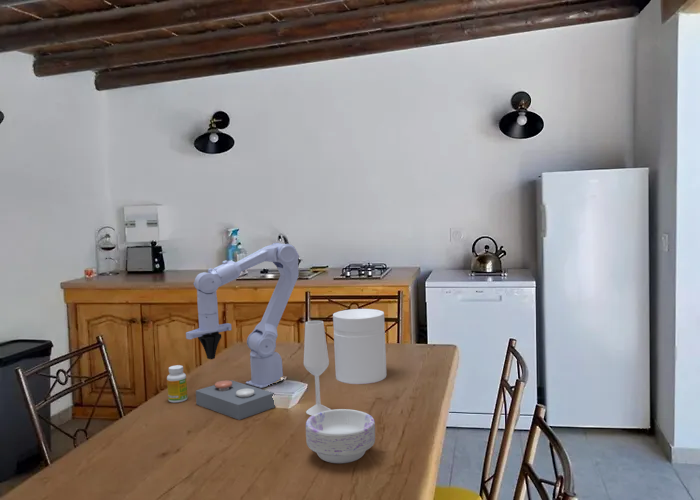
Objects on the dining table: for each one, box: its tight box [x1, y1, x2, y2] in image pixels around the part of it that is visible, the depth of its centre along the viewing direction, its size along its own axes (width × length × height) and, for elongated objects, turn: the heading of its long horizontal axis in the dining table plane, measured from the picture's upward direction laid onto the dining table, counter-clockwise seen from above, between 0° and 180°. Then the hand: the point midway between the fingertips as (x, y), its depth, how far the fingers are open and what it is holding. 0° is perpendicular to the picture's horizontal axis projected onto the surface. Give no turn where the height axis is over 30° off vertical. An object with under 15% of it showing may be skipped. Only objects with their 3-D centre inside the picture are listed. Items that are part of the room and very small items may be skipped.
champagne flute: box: [303, 320, 332, 416], centre depth 163 cm, size 7×7×24 cm
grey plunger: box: [236, 389, 254, 398], centre depth 167 cm, size 5×5×4 cm
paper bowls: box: [305, 408, 376, 464], centre depth 135 cm, size 15×15×8 cm
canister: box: [332, 308, 387, 385], centre depth 193 cm, size 16×16×20 cm
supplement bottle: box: [166, 364, 188, 404], centre depth 178 cm, size 5×5×10 cm
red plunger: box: [214, 379, 233, 391], centre depth 174 cm, size 5×5×4 cm
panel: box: [195, 379, 276, 421], centre depth 171 cm, size 12×20×4 cm, turn 47°
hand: (211, 358), depth 182 cm, fingers closed
